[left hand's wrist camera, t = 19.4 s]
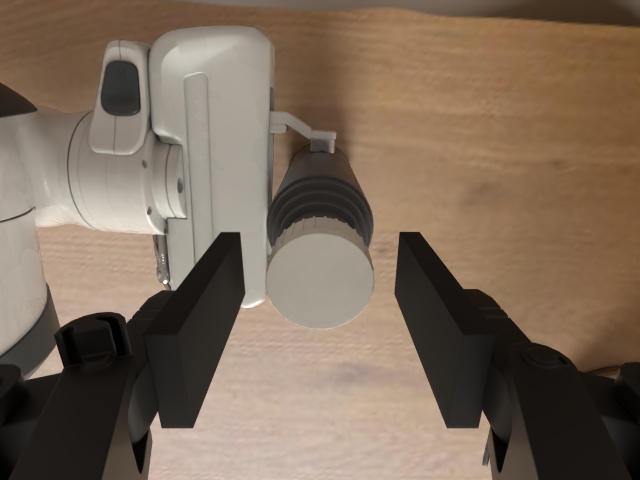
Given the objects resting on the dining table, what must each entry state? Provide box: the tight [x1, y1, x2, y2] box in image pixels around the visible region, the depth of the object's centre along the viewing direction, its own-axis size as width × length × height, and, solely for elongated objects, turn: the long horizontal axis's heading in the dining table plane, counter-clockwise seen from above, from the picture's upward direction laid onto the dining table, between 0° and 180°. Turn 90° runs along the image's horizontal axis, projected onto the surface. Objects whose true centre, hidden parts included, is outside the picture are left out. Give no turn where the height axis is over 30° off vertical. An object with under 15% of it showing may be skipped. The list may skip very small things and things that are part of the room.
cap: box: [266, 216, 374, 329], centre depth 14 cm, size 4×4×2 cm
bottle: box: [266, 144, 373, 248], centre depth 23 cm, size 6×6×21 cm
